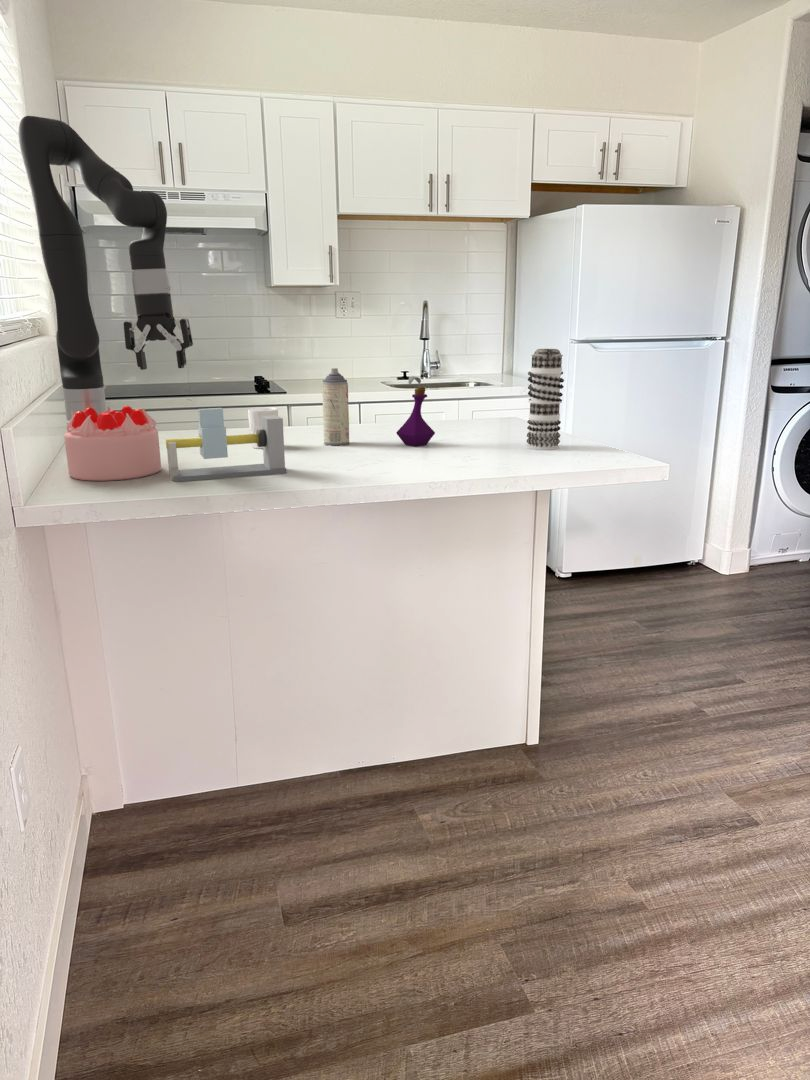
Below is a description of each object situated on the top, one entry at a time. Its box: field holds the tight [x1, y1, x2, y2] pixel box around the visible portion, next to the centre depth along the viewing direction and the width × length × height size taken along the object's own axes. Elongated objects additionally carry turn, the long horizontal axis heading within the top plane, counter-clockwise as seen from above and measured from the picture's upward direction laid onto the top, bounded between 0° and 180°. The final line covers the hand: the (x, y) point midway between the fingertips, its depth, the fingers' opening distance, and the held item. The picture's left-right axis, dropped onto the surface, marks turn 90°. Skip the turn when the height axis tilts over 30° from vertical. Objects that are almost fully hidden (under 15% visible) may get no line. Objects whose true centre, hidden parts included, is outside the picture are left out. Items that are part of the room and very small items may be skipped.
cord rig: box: [165, 415, 287, 483], centre depth 173 cm, size 25×8×12 cm, turn 112°
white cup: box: [247, 406, 279, 450], centre depth 209 cm, size 8×8×10 cm
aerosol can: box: [321, 367, 350, 447], centre depth 211 cm, size 7×7×20 cm
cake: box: [63, 405, 162, 482], centre depth 176 cm, size 20×20×14 cm
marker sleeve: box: [197, 407, 229, 460], centre depth 172 cm, size 5×6×10 cm
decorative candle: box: [526, 348, 565, 451], centre depth 203 cm, size 9×9×25 cm
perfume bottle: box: [396, 376, 436, 448], centre depth 209 cm, size 8×8×18 cm
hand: (162, 368), depth 175 cm, fingers open, 8 cm apart
